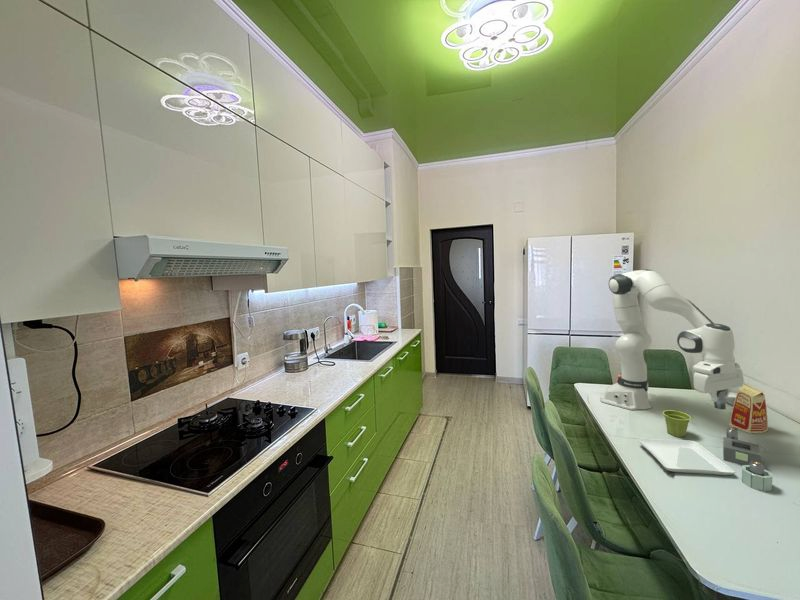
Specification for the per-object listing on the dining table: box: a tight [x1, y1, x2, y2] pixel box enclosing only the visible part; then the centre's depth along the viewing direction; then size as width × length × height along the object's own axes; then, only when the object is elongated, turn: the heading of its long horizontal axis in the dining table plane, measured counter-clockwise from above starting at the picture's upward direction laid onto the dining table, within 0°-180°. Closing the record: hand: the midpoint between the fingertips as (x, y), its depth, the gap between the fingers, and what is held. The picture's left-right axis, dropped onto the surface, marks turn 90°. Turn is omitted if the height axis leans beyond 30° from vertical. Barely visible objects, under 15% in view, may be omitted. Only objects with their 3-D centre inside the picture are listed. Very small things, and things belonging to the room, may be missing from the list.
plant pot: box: [662, 409, 692, 438], centre depth 141 cm, size 9×9×9 cm
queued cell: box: [725, 427, 739, 440], centre depth 129 cm, size 3×3×8 cm
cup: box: [741, 465, 773, 492], centre depth 107 cm, size 7×7×5 cm
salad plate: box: [637, 438, 736, 476], centre depth 123 cm, size 21×21×3 cm
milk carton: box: [728, 382, 769, 434], centre depth 141 cm, size 9×9×20 cm
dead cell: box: [750, 461, 765, 476], centre depth 107 cm, size 3×3×8 cm
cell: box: [713, 390, 727, 410], centre depth 127 cm, size 3×3×8 cm
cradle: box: [722, 436, 762, 466], centre depth 120 cm, size 9×10×6 cm
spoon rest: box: [726, 393, 737, 406], centre depth 160 cm, size 24×12×7 cm, turn 144°
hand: (719, 400), depth 127 cm, fingers closed on cell, 3 cm apart
